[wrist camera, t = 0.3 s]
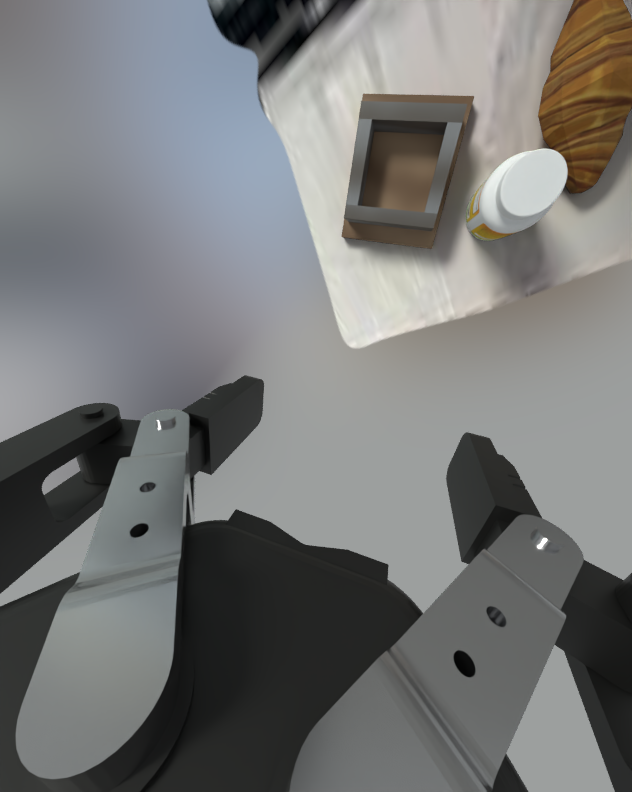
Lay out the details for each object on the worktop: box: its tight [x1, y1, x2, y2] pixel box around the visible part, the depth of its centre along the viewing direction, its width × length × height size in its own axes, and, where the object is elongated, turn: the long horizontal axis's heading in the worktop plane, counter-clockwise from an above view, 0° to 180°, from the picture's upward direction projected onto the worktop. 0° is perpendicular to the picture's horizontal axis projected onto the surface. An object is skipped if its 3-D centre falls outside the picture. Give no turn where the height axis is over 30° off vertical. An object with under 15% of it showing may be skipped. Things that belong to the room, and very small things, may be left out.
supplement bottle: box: [466, 149, 568, 241], centre depth 24 cm, size 5×5×10 cm
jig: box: [342, 94, 474, 249], centre depth 28 cm, size 12×10×4 cm
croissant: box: [538, 0, 632, 193], centre depth 22 cm, size 14×7×5 cm, turn 15°
